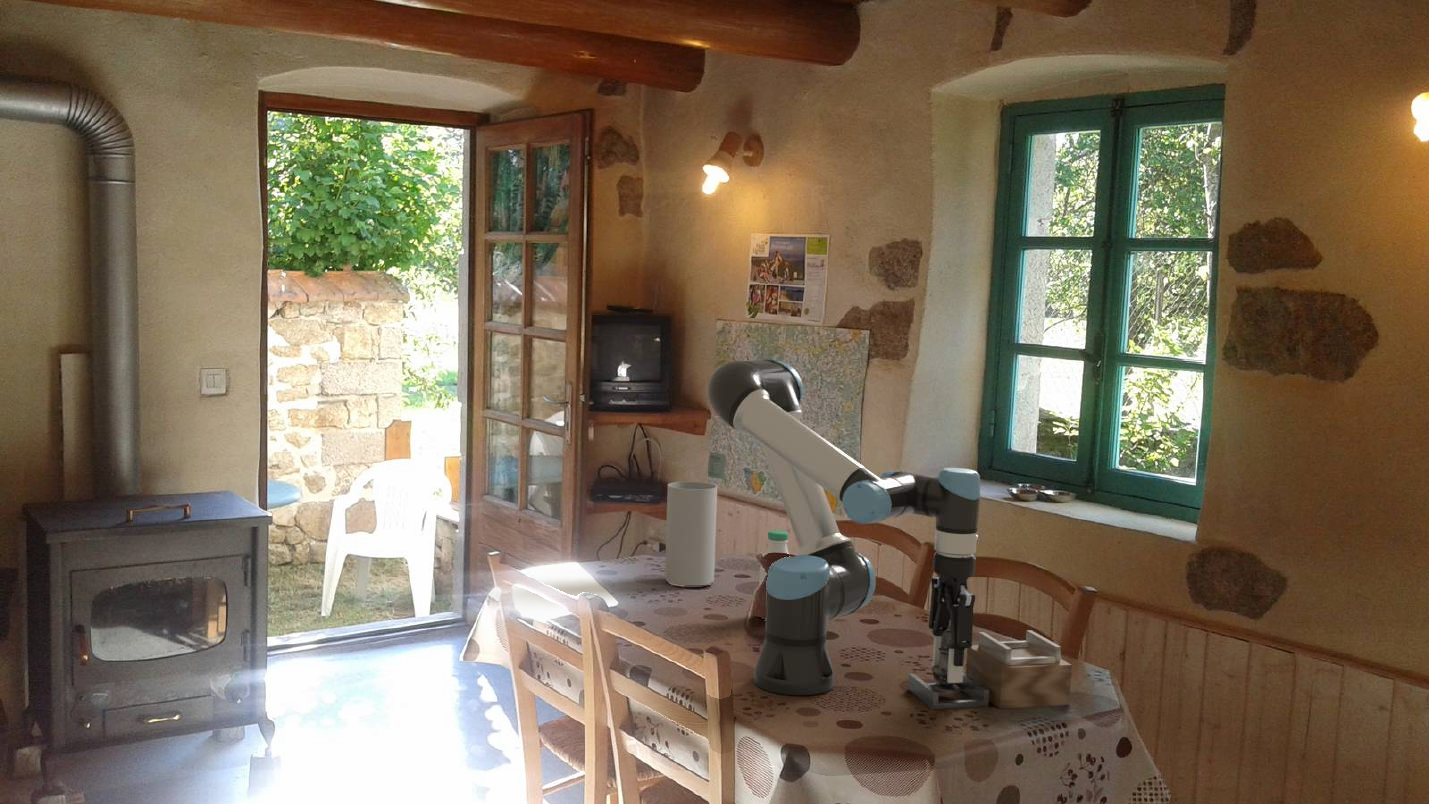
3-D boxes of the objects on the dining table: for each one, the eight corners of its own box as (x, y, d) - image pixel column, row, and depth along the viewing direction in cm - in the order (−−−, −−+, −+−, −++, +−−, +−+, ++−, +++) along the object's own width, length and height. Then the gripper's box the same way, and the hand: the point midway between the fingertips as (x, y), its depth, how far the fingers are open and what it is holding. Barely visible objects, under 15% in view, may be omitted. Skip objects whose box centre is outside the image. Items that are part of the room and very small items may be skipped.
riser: (999, 708, 216) (1003, 651, 215) (965, 683, 229) (968, 630, 228) (1069, 704, 219) (1072, 648, 218) (1031, 680, 233) (1034, 627, 232)
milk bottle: (763, 623, 267) (767, 535, 265) (753, 614, 275) (756, 528, 273) (796, 622, 269) (800, 534, 268) (785, 613, 277) (788, 528, 275)
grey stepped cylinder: (962, 695, 217) (966, 631, 216) (929, 692, 219) (933, 628, 217) (962, 685, 223) (966, 622, 222) (930, 682, 224) (934, 619, 223)
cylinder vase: (723, 582, 305) (726, 485, 303) (696, 591, 294) (700, 491, 292) (682, 574, 311) (685, 480, 309) (654, 583, 301) (658, 485, 299)
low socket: (932, 709, 214) (933, 692, 214) (907, 689, 225) (908, 673, 224) (988, 706, 217) (989, 690, 217) (961, 686, 227) (962, 671, 227)
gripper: (997, 564, 210) (989, 692, 212) (951, 541, 229) (943, 659, 231) (958, 565, 208) (950, 694, 211) (915, 542, 227) (907, 661, 229)
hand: (947, 676), depth 221 cm, fingers closed on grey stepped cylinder, 6 cm apart
